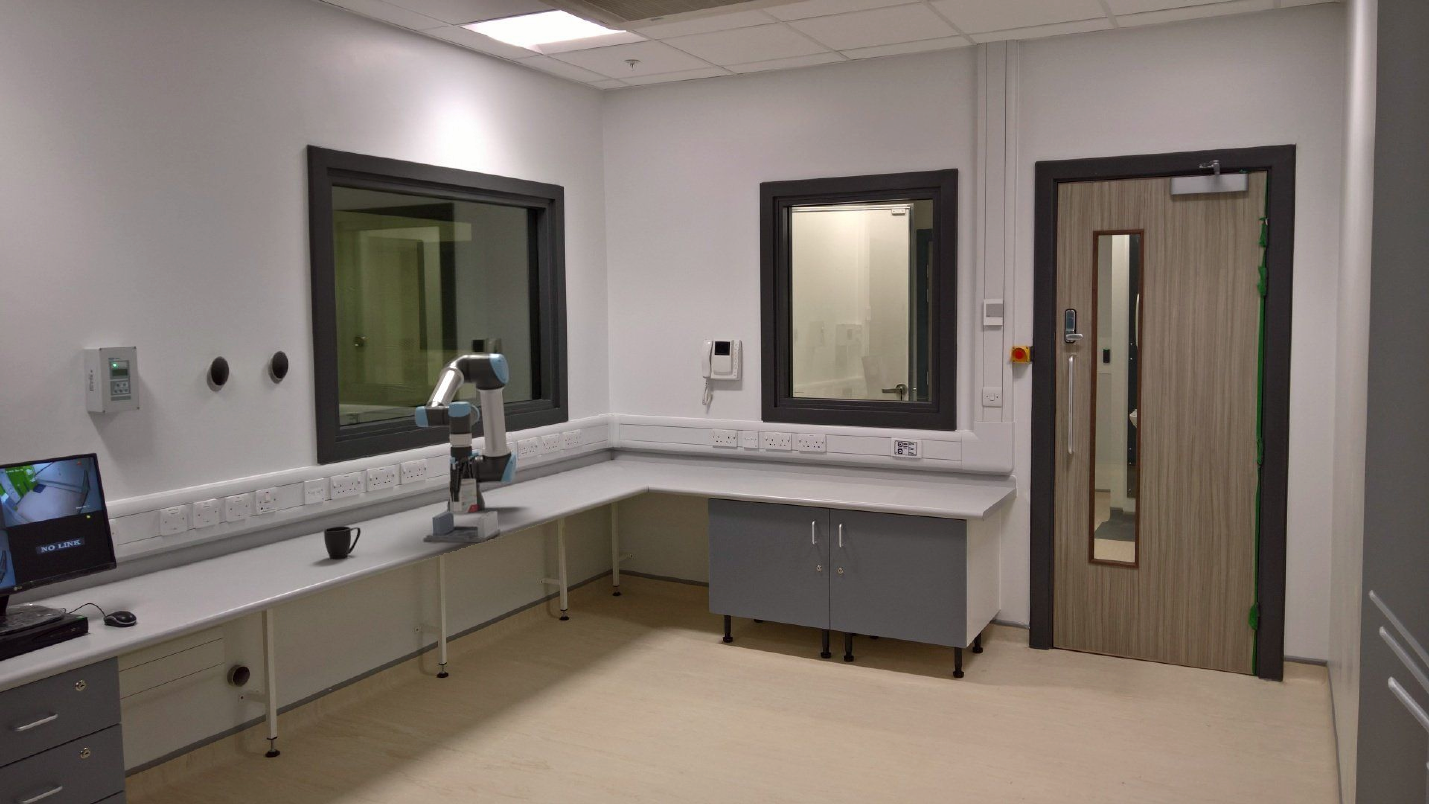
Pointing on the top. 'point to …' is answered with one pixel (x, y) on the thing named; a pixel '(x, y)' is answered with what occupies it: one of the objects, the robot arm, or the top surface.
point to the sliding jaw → (443, 523)
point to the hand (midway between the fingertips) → (463, 508)
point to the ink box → (465, 497)
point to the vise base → (470, 531)
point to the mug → (339, 541)
